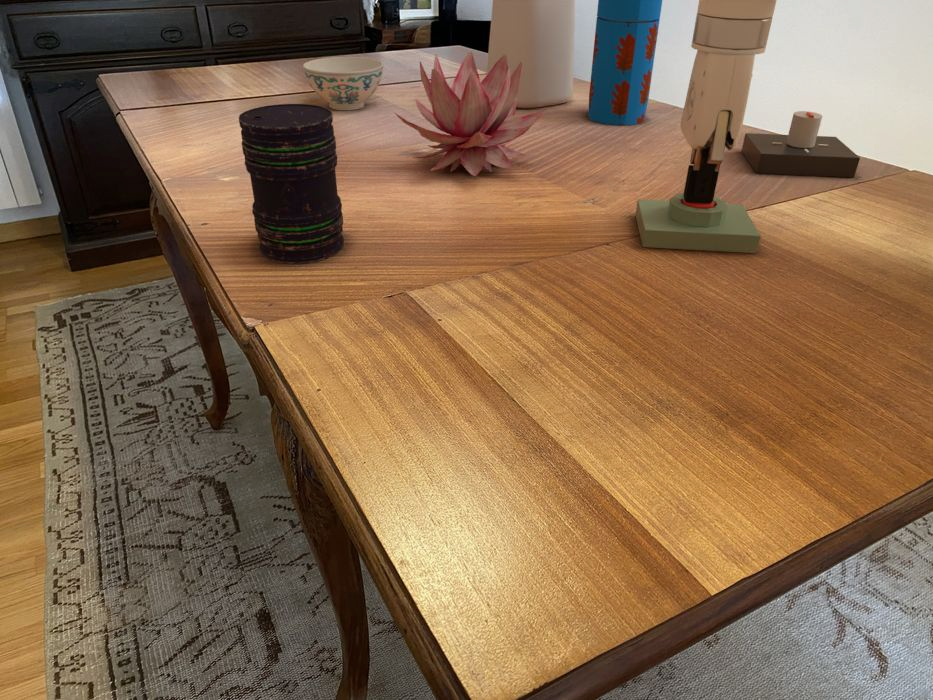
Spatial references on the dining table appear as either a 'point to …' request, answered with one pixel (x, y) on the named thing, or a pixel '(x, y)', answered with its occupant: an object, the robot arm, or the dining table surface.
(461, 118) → the decorative flower
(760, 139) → the dial base
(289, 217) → the dark brown cylinder
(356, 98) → the chinaware
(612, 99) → the thermos
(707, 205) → the power button
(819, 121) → the temp dial
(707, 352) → the dining table surface
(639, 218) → the switch block
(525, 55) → the plastic bottle
